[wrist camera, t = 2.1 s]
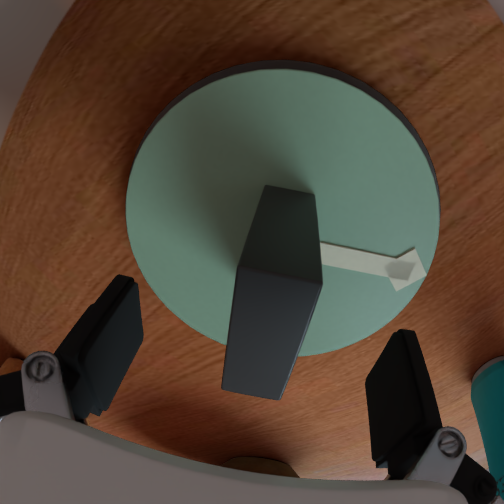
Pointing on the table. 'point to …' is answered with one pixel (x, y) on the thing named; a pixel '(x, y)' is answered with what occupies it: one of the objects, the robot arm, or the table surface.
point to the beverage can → (491, 415)
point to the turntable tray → (287, 151)
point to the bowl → (260, 466)
